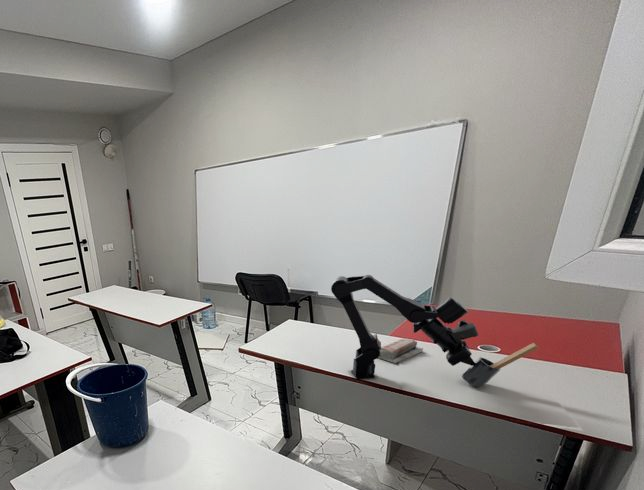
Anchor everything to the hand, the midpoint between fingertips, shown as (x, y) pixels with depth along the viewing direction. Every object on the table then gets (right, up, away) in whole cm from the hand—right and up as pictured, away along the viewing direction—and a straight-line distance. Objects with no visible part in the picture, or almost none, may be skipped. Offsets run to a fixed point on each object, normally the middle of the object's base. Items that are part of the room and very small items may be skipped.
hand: (473, 364), depth 118 cm
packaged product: (-7, +3, +30) cm, 31 cm away
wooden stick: (+1, -5, +2) cm, 5 cm away
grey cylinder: (+1, -6, +2) cm, 6 cm away
